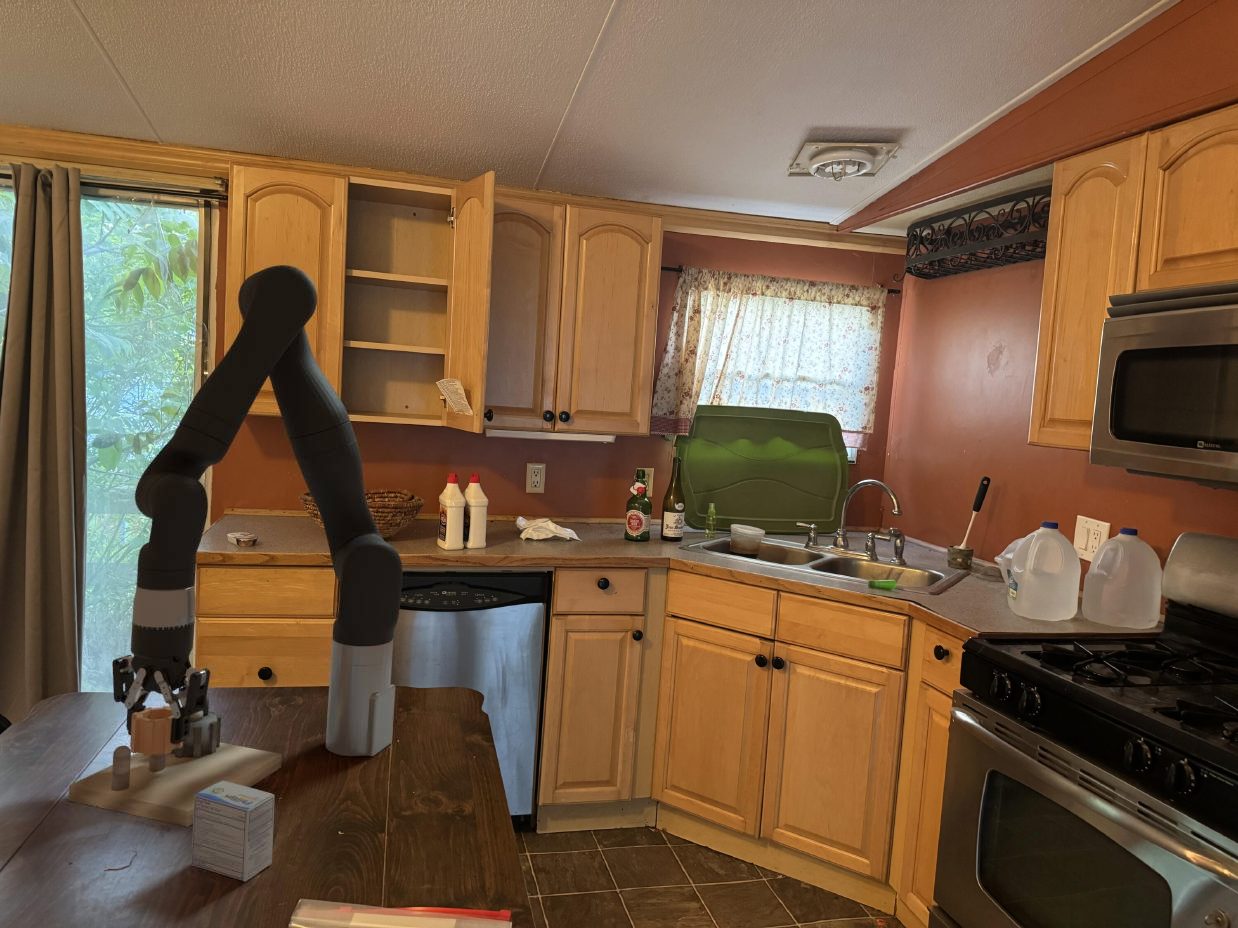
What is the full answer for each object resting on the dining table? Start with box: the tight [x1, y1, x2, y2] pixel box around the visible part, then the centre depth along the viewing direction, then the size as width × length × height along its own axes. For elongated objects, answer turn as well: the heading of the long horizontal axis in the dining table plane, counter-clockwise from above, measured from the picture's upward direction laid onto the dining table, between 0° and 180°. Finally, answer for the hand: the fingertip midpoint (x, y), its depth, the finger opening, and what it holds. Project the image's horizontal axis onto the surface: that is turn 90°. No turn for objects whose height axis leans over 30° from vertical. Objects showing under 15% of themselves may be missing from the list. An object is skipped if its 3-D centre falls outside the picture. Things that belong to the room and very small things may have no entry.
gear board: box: [68, 696, 283, 827], centre depth 117 cm, size 18×19×9 cm
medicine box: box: [190, 781, 275, 882], centre depth 98 cm, size 8×4×9 cm, turn 71°
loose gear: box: [129, 705, 183, 756], centre depth 117 cm, size 6×6×4 cm
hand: (157, 737), depth 117 cm, fingers closed on loose gear, 6 cm apart
